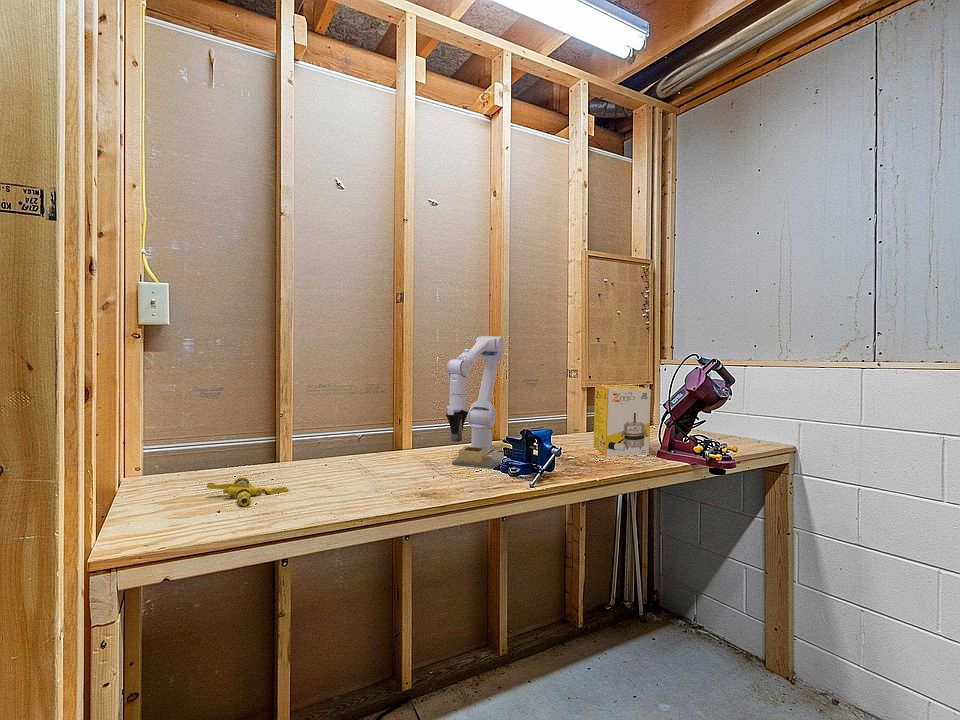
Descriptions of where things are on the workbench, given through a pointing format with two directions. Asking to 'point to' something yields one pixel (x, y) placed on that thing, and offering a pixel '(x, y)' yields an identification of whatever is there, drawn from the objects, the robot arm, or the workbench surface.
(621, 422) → the packaging box
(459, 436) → the dark grey cylinder
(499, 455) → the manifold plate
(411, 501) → the workbench surface
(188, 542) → the workbench surface
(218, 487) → the sprinkler
